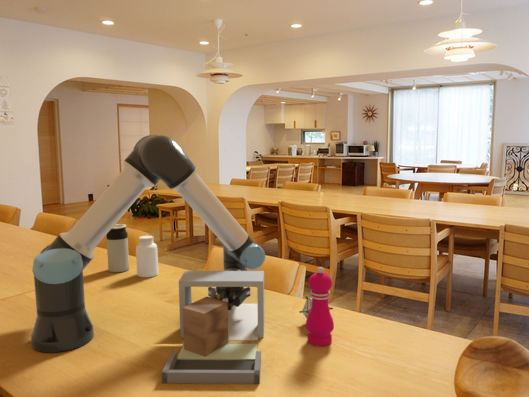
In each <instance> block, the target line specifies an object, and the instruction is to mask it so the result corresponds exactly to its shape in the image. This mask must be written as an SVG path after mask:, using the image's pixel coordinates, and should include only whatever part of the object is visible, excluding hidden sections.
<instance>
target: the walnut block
mask: <svg viewBox="0 0 529 397" xmlns="http://www.w3.org/2000/svg"><path fill="white" fill-rule="evenodd" d="M218 299H219V298H217V299H215V298H211V297H210V296H205V297H202V298H200V299H199V300H198V299H197V300H196V301H194V302H192V303H191V304H189V305H187V306H185V307H183V331H184V337H183V344H184V349H185V350H187V351H190V352H193V353H196V354H199V355H202V356H204V357H206V356H208V355H209V354H211V353H212V352H214V351H216V350H217V349H219V348H220V347H222V346H224V345H225V344H229V340H228V302H226V301H222V300H218Z"/></svg>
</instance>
